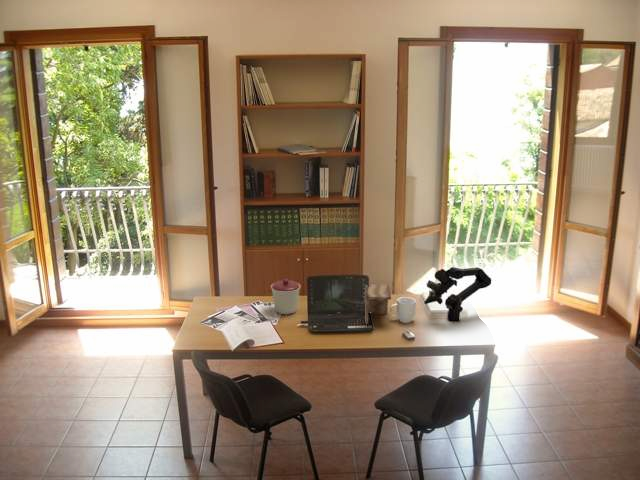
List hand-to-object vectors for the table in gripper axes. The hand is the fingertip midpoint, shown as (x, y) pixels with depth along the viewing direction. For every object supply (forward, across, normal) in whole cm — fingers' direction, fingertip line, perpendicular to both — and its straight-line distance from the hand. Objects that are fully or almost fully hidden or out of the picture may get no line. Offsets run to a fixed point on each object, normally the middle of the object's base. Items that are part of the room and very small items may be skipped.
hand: (424, 303), depth 357 cm
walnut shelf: (+28, -1, -12) cm, 30 cm away
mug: (+16, 0, 0) cm, 17 cm away
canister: (+67, -12, -50) cm, 84 cm away
